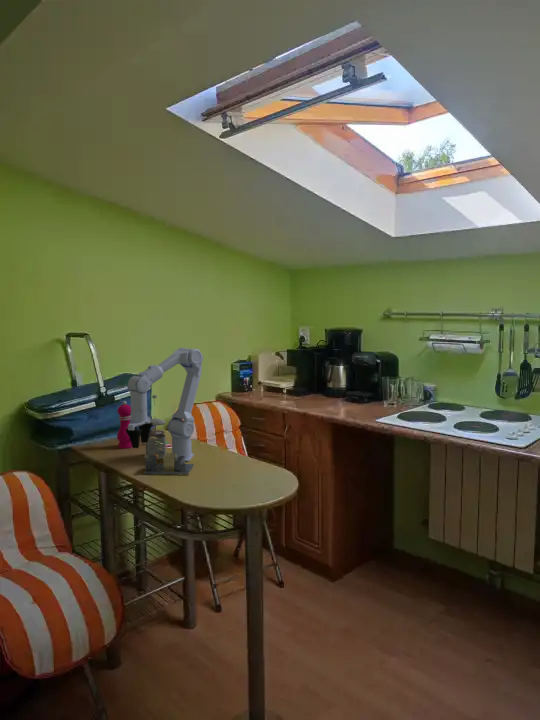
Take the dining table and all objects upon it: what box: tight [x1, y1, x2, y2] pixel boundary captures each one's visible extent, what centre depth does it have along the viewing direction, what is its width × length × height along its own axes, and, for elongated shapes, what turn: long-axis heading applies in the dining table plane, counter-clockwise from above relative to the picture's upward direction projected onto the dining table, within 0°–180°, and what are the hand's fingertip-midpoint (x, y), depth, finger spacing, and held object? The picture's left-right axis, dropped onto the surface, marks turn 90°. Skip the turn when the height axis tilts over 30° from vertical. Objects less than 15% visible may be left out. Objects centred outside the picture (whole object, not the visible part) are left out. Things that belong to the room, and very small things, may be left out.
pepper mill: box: [116, 400, 133, 450], centre depth 229 cm, size 7×7×20 cm
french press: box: [139, 394, 167, 460], centre depth 214 cm, size 10×12×25 cm
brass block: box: [162, 452, 177, 470], centre depth 197 cm, size 4×4×5 cm
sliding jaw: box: [144, 454, 159, 470], centre depth 200 cm, size 12×2×4 cm, turn 176°
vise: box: [143, 456, 195, 476], centre depth 197 cm, size 10×16×4 cm, turn 86°
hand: (140, 445), depth 197 cm, fingers open, 7 cm apart
